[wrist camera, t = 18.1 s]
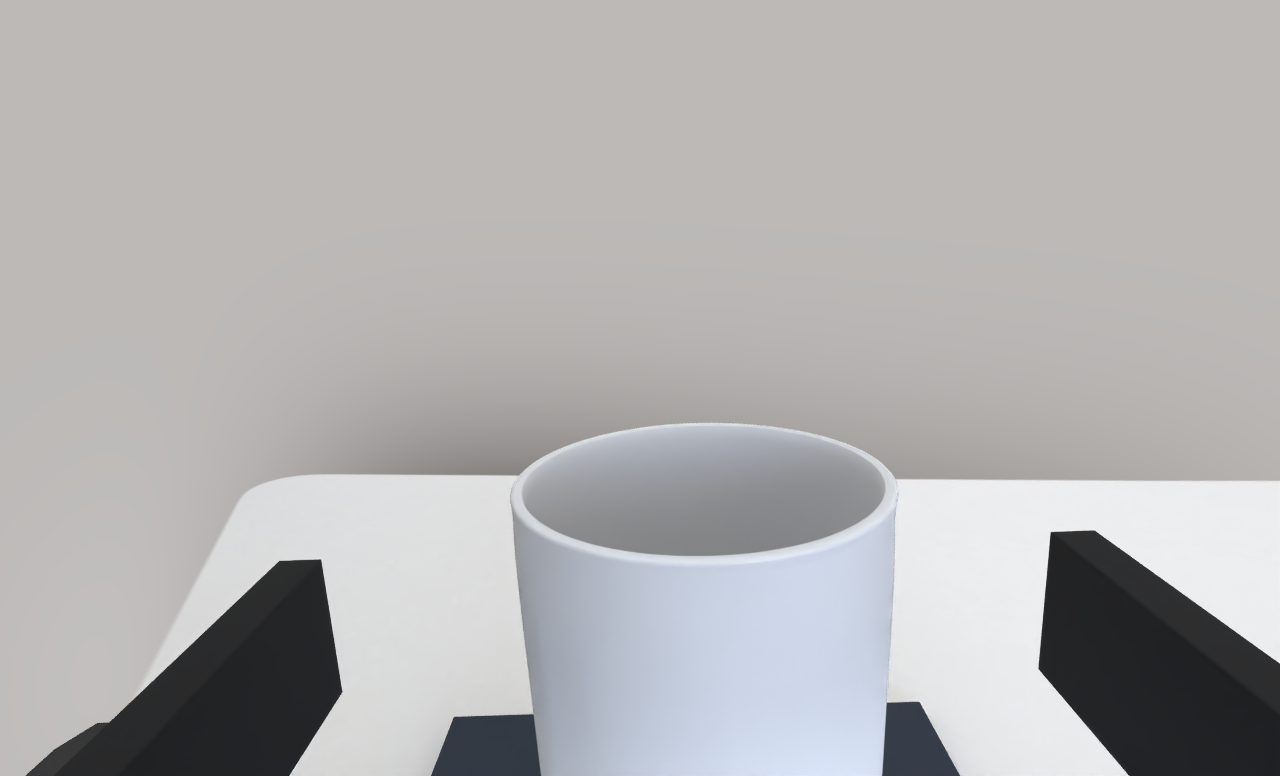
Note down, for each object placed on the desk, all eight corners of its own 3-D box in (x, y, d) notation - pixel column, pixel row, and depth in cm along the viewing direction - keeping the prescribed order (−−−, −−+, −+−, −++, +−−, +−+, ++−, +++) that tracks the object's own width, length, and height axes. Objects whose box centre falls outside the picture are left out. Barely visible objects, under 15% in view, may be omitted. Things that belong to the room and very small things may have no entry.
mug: (949, 1148, 13) (990, 528, 11) (577, 1254, 12) (513, 592, 9) (759, 757, 23) (755, 380, 20) (542, 796, 22) (506, 403, 19)
